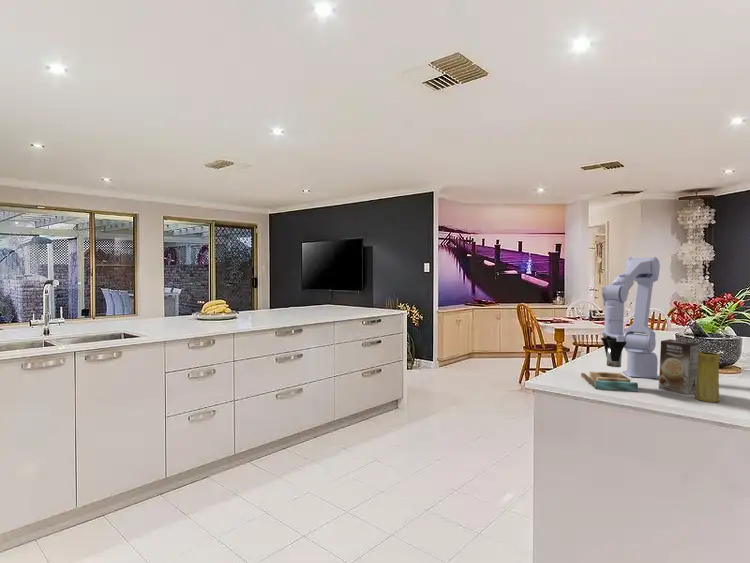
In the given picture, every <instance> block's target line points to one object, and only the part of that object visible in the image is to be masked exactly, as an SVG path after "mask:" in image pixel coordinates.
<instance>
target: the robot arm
mask: <svg viewBox="0 0 750 563" xmlns="http://www.w3.org/2000/svg"><path fill="white" fill-rule="evenodd" d="M660 269H661V264H660V261H659V259H658V258H657V257H656V256H653V257H632V256H630V257H628V259H626V262H625V270H624V272H623V273H619V274H618V275H617V276H616V277H615V279H613V281H612V282H611V284H606V286H603V288H602V292H601V297H602V301H603V303H602V304H603V307H604V329H603V331H601V332H600V335H602V336H603V337H600V340H601V342H602V344H603V347H604V353H605V356H606V358H607V348H608V347H609V348H610V355H611V360H612V361H619V359H620V356H621V352H623V350H624V349H625V351H626V352H627V355H626V356H627V358H626V370H622V373H624V374H625V375H627V377H628V376H629V377H630V378H634V377H635V378H648V379H659V377H658V364H659V361H658V355H657V354H656V353H655V352H653V351H655V349H656V344H657V340H656V332H655V331H654V330H653V329H652V328H651V327H649V318H650V309H651V300H652V294H653V293H652V292H653V287H654V283H655V282H657V281H659V277H660ZM635 282H636V284H637V288H636V297H635V305H634V311H633V320H632V324H631V325H629V326H627V327H626V328H625V329H624V316H625V315H624V312H625V311H624V310H625V303H626V301H627V300H628V295H629V291H630V290H631V289H632V287H633V286H634V283H635Z"/></svg>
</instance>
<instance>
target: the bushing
mask: <svg viewBox="0 0 750 563" xmlns="http://www.w3.org/2000/svg"><path fill="white" fill-rule="evenodd" d="M622 352H623V351H622ZM622 352H621V356H620V359H619V361H612V360H611V355H610V348H609V347H608V348H607V357H606V366H608V367H611V368H621V367H622V358H623V357H622V356H623V353H622Z"/></svg>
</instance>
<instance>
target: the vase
mask: <svg viewBox="0 0 750 563" xmlns="http://www.w3.org/2000/svg"><path fill="white" fill-rule="evenodd" d="M719 380H720V353H716V352H712V351H698V366H697V381H696V392H695V396H694V398H695V399H696V400H698V401H702V402H706V403H707V402H708V403H718V402H720V382H719Z"/></svg>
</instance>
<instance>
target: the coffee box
mask: <svg viewBox="0 0 750 563" xmlns="http://www.w3.org/2000/svg"><path fill="white" fill-rule="evenodd" d="M699 345H700V344H699V343H696V342H691V341H689V342H688V341H683V340H676V339H665V340H664V339H663V340H661V341H660V350H659V351H660V355H659V359H660V360H659V377H658V389H662V390H666V391H670V392H674V393H678V392H679V393H680V394H682V393H683V394H684V395H687V394H688V395H691V394H694V393H695V394H696V381H697V367H698V352H699ZM679 393H678V394H679Z"/></svg>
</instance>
